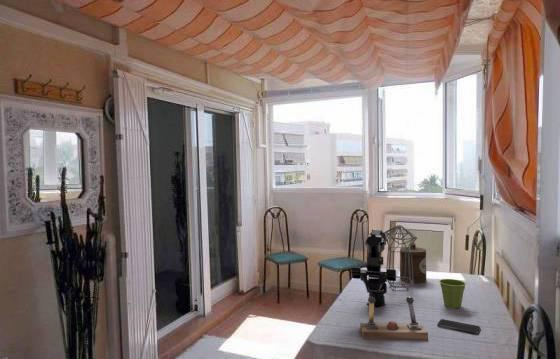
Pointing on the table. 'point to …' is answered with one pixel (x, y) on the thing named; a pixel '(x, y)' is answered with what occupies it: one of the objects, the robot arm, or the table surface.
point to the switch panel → (393, 331)
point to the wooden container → (418, 264)
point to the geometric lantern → (397, 251)
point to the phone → (459, 326)
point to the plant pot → (452, 292)
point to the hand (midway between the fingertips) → (372, 291)
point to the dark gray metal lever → (371, 310)
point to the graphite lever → (411, 310)
